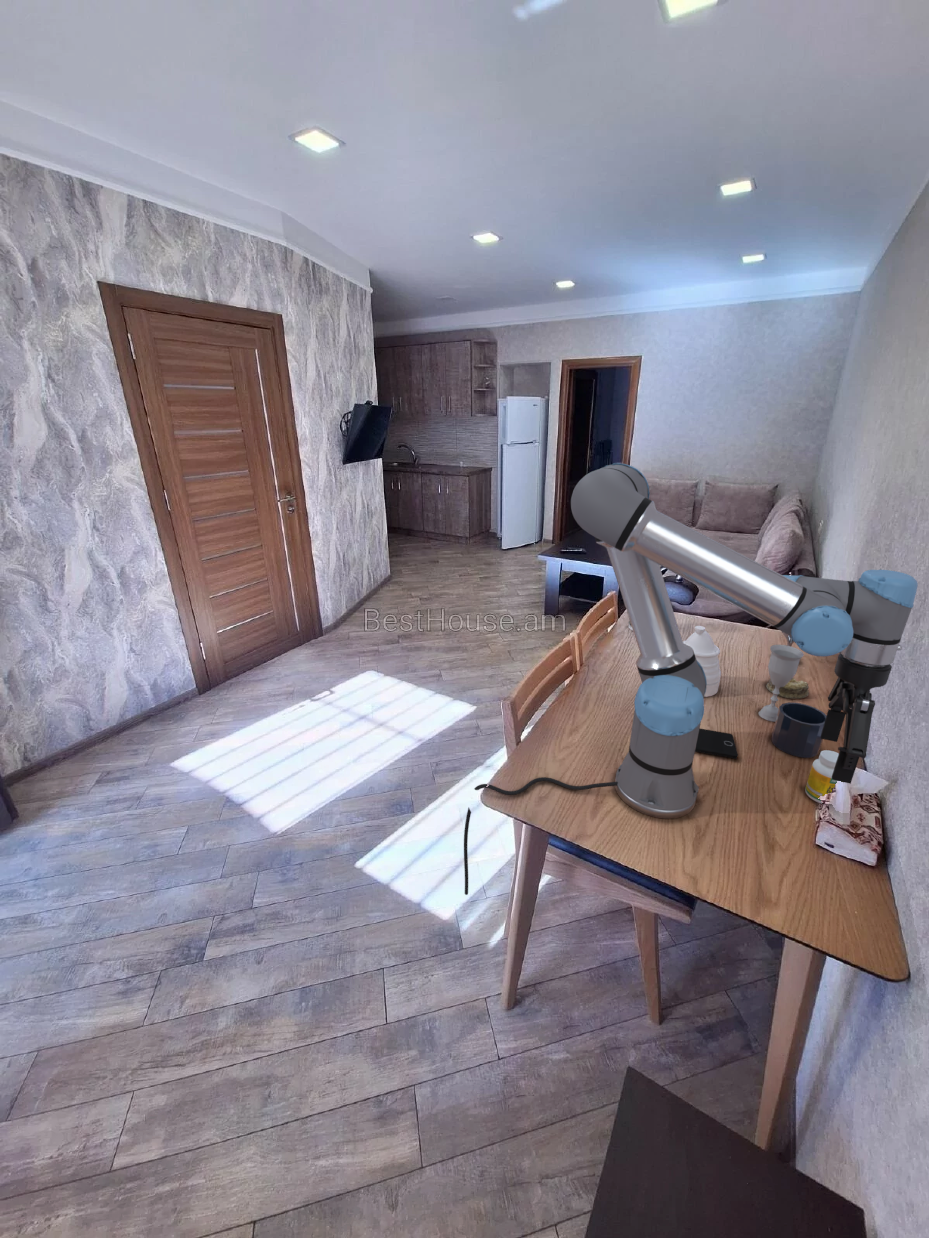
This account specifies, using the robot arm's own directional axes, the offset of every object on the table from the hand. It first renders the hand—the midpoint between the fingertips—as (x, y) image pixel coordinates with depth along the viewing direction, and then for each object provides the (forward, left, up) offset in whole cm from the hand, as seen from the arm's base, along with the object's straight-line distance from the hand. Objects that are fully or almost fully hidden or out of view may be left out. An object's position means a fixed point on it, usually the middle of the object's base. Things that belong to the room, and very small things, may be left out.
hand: (834, 758), depth 95 cm
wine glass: (+46, +47, -9) cm, 66 cm away
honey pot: (+8, +44, -9) cm, 46 cm away
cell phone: (-11, +23, -9) cm, 27 cm away
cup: (+10, +14, -9) cm, 19 cm away
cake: (+30, +33, -9) cm, 46 cm away
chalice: (+15, +25, -9) cm, 31 cm away
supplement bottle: (0, 0, -9) cm, 9 cm away
